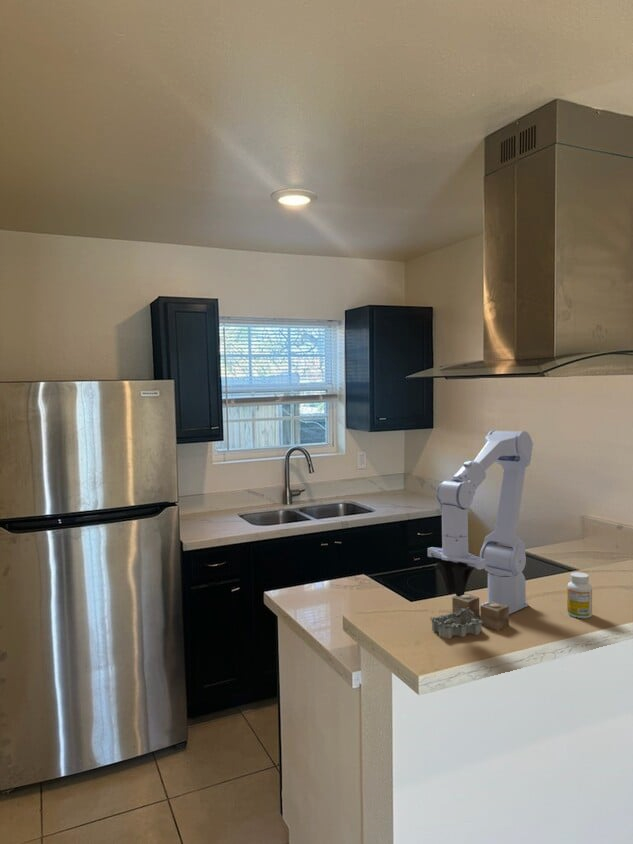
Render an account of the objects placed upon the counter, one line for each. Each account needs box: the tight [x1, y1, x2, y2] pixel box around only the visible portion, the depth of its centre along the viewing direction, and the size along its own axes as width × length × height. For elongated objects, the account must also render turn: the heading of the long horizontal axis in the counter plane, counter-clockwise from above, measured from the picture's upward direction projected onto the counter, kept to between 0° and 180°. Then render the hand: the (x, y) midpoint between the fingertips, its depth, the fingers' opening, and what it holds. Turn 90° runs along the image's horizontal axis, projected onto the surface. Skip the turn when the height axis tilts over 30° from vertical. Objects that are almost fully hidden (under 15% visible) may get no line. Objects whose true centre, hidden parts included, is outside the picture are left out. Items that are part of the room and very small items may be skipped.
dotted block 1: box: [451, 593, 481, 618], centre depth 142 cm, size 4×4×5 cm
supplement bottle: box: [566, 571, 593, 619], centre depth 140 cm, size 5×5×10 cm
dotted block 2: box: [479, 601, 510, 631], centre depth 136 cm, size 4×4×5 cm
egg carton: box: [429, 607, 483, 639], centre depth 133 cm, size 11×8×4 cm
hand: (455, 593), depth 133 cm, fingers closed
